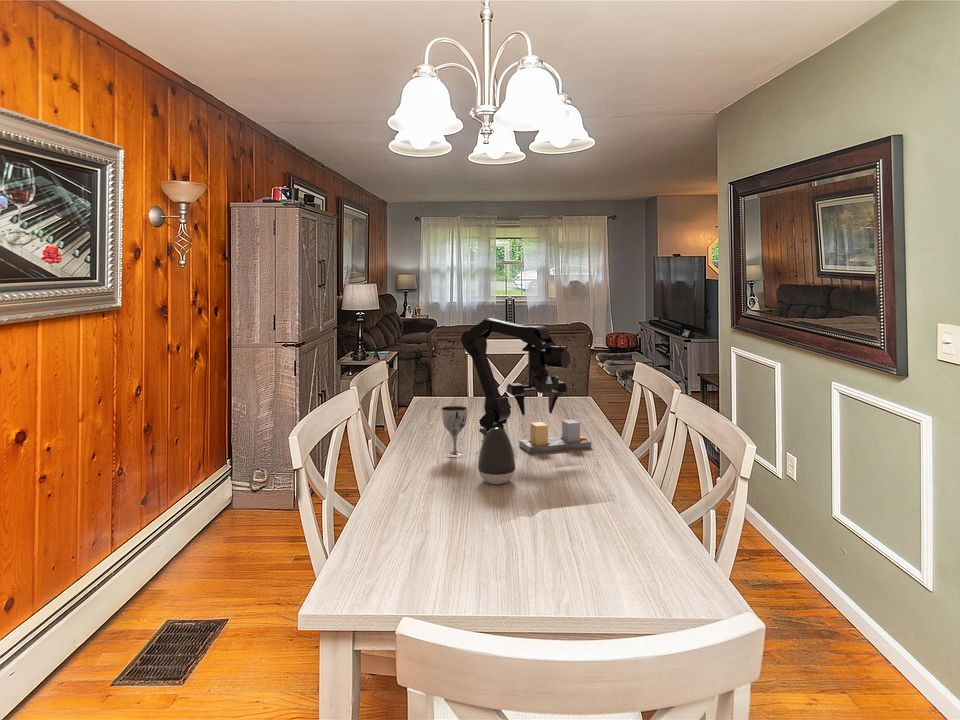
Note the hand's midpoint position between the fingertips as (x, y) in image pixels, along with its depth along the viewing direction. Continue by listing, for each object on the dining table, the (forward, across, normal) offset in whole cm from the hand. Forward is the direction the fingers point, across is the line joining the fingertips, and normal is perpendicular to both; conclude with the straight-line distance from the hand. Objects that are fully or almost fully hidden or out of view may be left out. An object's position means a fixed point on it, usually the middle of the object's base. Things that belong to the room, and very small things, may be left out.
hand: (536, 414), depth 213 cm
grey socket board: (+12, +6, -2) cm, 13 cm away
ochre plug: (+11, 0, -2) cm, 11 cm away
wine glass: (+12, -26, +3) cm, 29 cm away
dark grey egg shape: (+12, -22, -27) cm, 37 cm away
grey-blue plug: (+11, +11, -2) cm, 16 cm away
